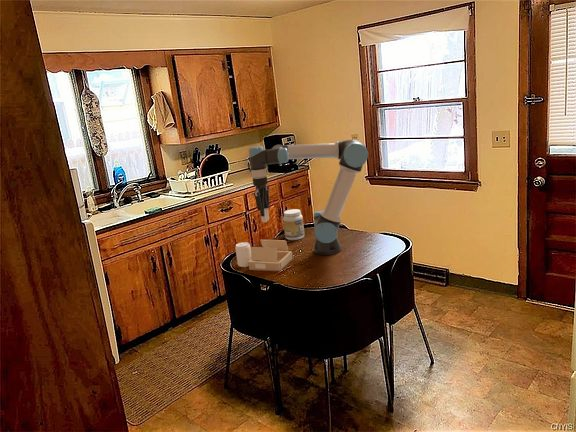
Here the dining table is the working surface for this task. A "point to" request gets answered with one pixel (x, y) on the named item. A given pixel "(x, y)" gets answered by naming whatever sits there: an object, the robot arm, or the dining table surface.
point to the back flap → (275, 244)
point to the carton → (272, 262)
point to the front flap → (264, 253)
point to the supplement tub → (293, 224)
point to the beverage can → (243, 254)
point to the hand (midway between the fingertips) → (265, 220)
